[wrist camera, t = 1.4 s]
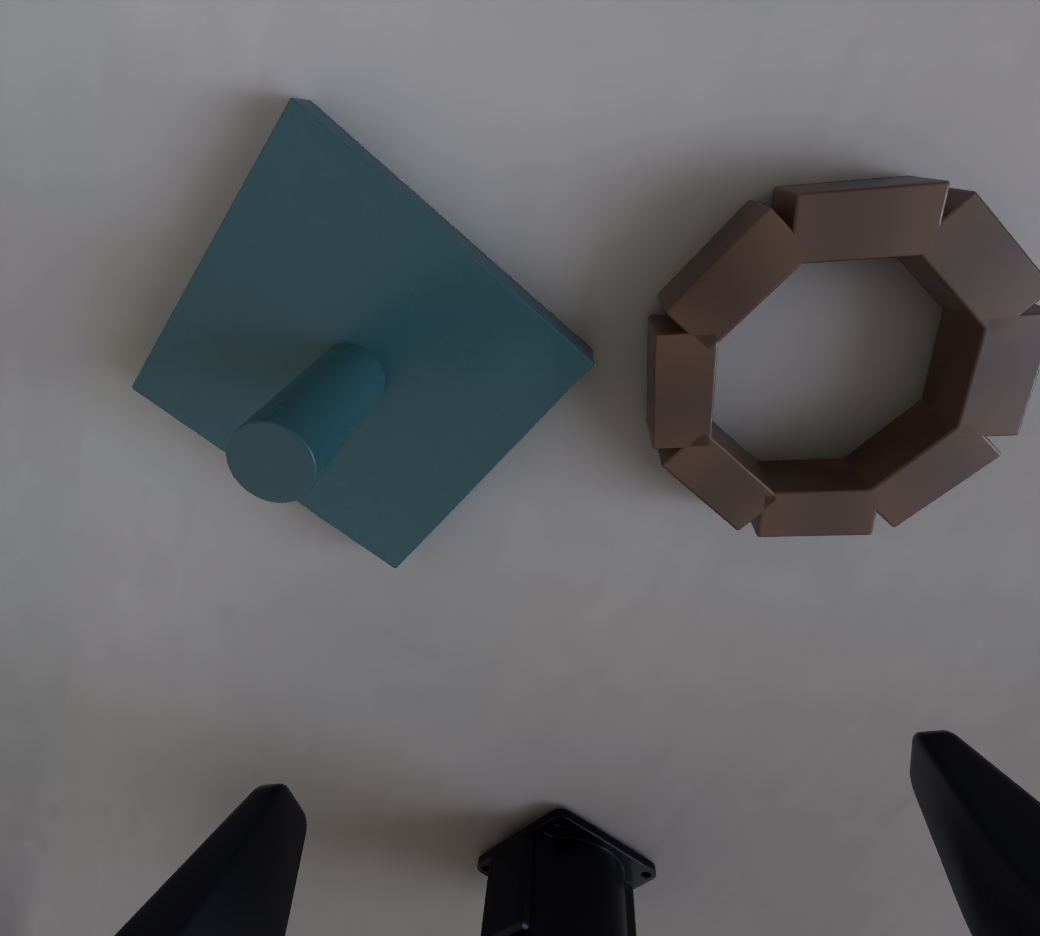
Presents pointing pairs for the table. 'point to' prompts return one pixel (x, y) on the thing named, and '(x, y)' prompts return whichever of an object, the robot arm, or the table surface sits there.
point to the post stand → (355, 344)
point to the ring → (951, 379)
